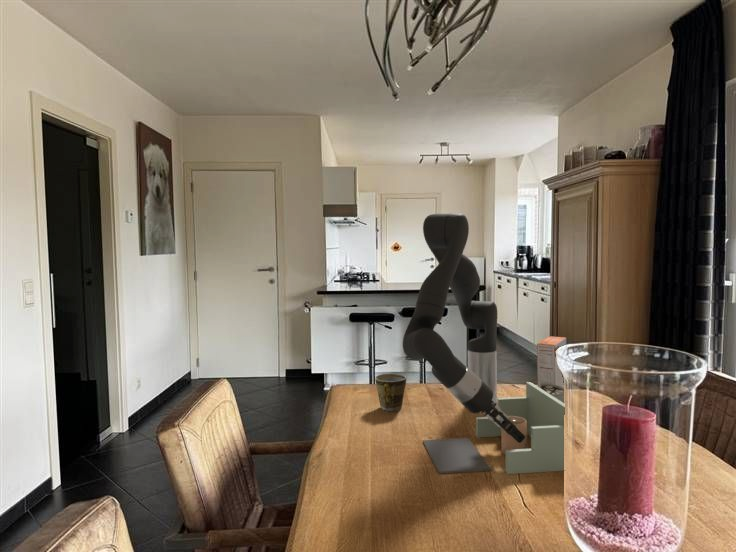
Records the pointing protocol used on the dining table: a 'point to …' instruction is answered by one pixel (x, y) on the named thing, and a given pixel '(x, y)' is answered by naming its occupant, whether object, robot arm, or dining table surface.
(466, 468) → the charcoal mat
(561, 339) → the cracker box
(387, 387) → the ceramic cup
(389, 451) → the dining table surface
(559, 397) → the food container
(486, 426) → the stepped shelf frame
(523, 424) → the pink and brown cylinder
